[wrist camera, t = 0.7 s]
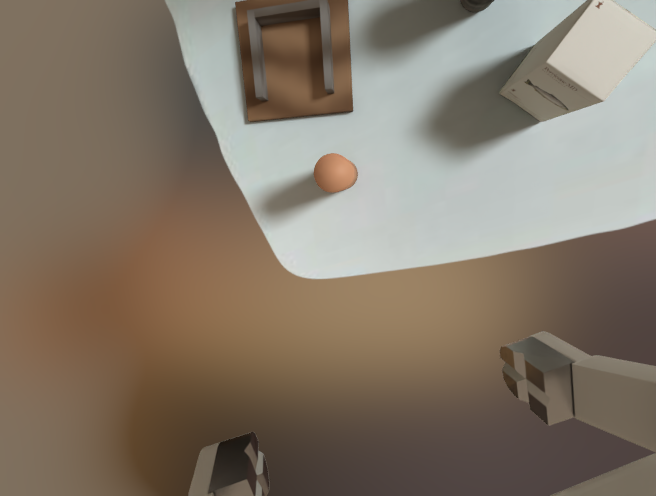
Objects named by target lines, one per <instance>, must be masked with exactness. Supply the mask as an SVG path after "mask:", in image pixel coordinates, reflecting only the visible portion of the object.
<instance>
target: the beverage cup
mask: <svg viewBox="0 0 656 496" xmlns="http://www.w3.org/2000/svg"><path fill="white" fill-rule="evenodd" d="M460 1H461V3H462V5H463V7H464V8H465V9H466V10H468V11H471V12H479V11H482V10H484V9H486V8H487V7H488V6H489V5H490V4H491V3H492V2H493V1H494V0H460Z"/></svg>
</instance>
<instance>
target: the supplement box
mask: <svg viewBox="0 0 656 496" xmlns="http://www.w3.org/2000/svg"><path fill="white" fill-rule="evenodd" d="M655 42H656V29H654V28H653V27H651V26H650V25H648V24H647V23H645V22H644V21H642V20H641V19H639V18H638V17H637V16H635V15H634V14H632V13H631V12H630V11H628V10H627V9H625V8H623V7H622V6H620V5H619V4H617V3H616V2H615V1H613V0H587V1H586V2H585V3H583V4H582V5H581V6H580V7H579V8H577V9H576V10H575V11H574V12H573V13H572V14H570V15H569V16H568V17H567V18H566V19H564V20H563V21H562V22H561V23H560V24H558V25H557V26H556V27H555V28H554V29H553V30H551V31H550V32H549V33H548V34H547V35H545V36H544V37H543V38H542V39H541V40H539V41H538V42H537V43H536V44H535V45H534V47H533V48H532V49H531V51H530V52H529V53H528V55H527V56H526V57H525V59H524V60H523V61H522V63H521V64H520V65H519V67H518V68H517V69H516V71H515V72H514V73H513V74H512V76H511V77H510V78H509V80H508V81H507V82H506V84H505V85H504V86H503V88H502V89H501V91H500V92H499V94H501V95H502V96H504V97H506V98H507V99H509V100H511V101H512V102H514V103H515V104H517V105H518V106H520V107H521V108H522V109H524V110H525V111H527V112H528V113H529V114H531V115H532V116H534V117H535V118H536V119H537V120H539V121H540V122H543V121H546V120H549V119H552V118H555V117H558V116H561V115H564V114H567V113H570V112H573V111H576V110H579V109H582V108H585V107H588V106H591V105H594V104H597V103H600V102H603V101H605V99H606V98H607V97H608V96H609V95H610V93H611V92H612V91H613V90H614V89H615V87H616V86H617V85H618V84H619V83H620V81H621V80H622V79H623V78H624V77H625V76H626V75H627V73H628V72H629V71H630V70H631V69H632V68H633V67H634V65H635V64H636V63H637V62H638V61H639V60H640V59H641V57H642V56H643V55H644V54H645V53H646V52H647V51H648V50H649V48H650V47H651V46H652V45H653V44H654V43H655Z"/></svg>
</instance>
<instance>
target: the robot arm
mask: <svg viewBox="0 0 656 496" xmlns="http://www.w3.org/2000/svg"><path fill="white" fill-rule="evenodd" d="M500 358H501V359H502V360H503V361H505V364H504V367H503V369H502V373H503V378H504V381H505V383H506V385H507V387H508V388H509V390H510V391H511V392H512V393H513V395H514V396H516V397H517V398H518V399H519V400H522V401H525V402H528V403H529V406H530V410H531V411H532V412H534V413H535V414H536V415H537V416H538V417H539V418H540V419H541V420H543V422H545V423H546V424H547V425H548V426H549V425H553V424H555V423H558V422H561V421H564V420H567V419H570V418H573V417H575V419H578V420H580V421H583V422H585V423H587V424H590V425H592V426H594V427H597V428H599V429H602V430H604V431H606V432H609V433H611V434H613V435H616V436H618V437H621V438H623V439H625V440H628V441H630V442H633V443H635V444H637V445H640V446H642V447H644V448H647V449H649V450H651V451H654V452H656V366H651V365H645V364H641V363H635V362H630V361H625V360H620V359H614V358H609V357H604V356H598V355H595V356H592V357H591V356H590V355H588V354H586V353H584V352H582V351H581V350H579V349H577V348H575V347H573V346H572V345H570V344H568V343H566V342H564V341H562V340H561V339H559V338H557V337H555V336H553V335H552V334H550V333H548V332H543V331H542V332H540V333H537V334H534V335H532V336H529V337H528V338H525V339H522V340H519V341H516V342H513V343H511V344H507V345H504V346H502V347H501V348H500ZM258 447H259V441H258V439H257V437H256V434H255V433H254V432H251V433H247V434H244V435H241V436H238V437H235V438H232V439H228V440H226V441H222V442H220V443H217V444H214V445H210V446H207V447H204V448H203V449H202V450H201V452H200V454H199V458H198V462H197V465H196V469H195V472H194V476H193V480H192V483H191V487H190V490H189V494H188V496H266V495H267V493H268V492H269V475H268V468H267V464H266V460H265V457H264V455H263V453H261V452H259V451H258ZM551 496H656V453H655V454H652V455H650V456H647V457H645V458H642V459H640V460H637V461H635V462H632V463H630V464H627V465H625V466H622V467H620V468H617V469H615V470H612V471H610V472H607V473H605V474H603V475H600V476H598V477H595V478H593V479H590V480H588V481H585V482H583V483H580V484H578V485H575V486H573V487H570V488H568V489H565V490H563V491H561V492H558V493H556V494H553V495H551Z"/></svg>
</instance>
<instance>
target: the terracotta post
mask: <svg viewBox="0 0 656 496" xmlns="http://www.w3.org/2000/svg"><path fill="white" fill-rule="evenodd" d="M357 176H358V172H357V169H356V166H355V165H354V164H353V163H352V162H351V161H349V160H348V159H346V158H345V157H343V156H341V155H339V154H334V153H331V154H327V155H324V156H323V157H321V158H320V159H319V160H318V162H317V163H316V165H315V168H314V178H315V181H316V183H317V184H318V186H319V187H320V188H321V189H323V190H324V191H327V192H339V191H342V190H345V189H348V188H350V187H352V186H353V185H354V184H355V182H356V180H357Z"/></svg>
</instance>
